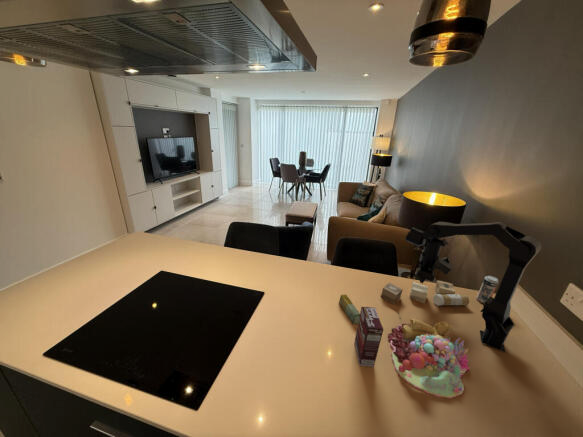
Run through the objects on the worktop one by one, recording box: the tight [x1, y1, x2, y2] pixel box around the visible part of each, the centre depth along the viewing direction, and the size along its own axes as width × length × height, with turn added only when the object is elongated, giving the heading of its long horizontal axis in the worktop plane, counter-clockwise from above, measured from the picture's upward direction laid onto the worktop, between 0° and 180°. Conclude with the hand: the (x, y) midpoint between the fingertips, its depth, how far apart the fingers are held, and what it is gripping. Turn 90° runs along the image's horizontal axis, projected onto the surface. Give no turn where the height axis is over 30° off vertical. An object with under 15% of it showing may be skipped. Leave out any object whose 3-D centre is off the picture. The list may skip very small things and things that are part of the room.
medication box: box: [338, 294, 360, 325], centre depth 92 cm, size 12×3×4 cm, turn 16°
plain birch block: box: [408, 281, 429, 304], centre depth 103 cm, size 6×6×5 cm
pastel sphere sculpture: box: [387, 318, 470, 399], centre depth 74 cm, size 25×24×9 cm
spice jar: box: [475, 275, 499, 304], centre depth 101 cm, size 5×5×12 cm
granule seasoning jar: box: [432, 293, 470, 307], centre depth 99 cm, size 5×5×14 cm
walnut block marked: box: [380, 282, 403, 305], centre depth 101 cm, size 6×6×5 cm
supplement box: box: [353, 306, 384, 367], centre depth 72 cm, size 9×5×16 cm, turn 177°
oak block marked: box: [434, 280, 456, 295], centre depth 105 cm, size 6×6×5 cm
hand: (421, 282), depth 101 cm, fingers closed
